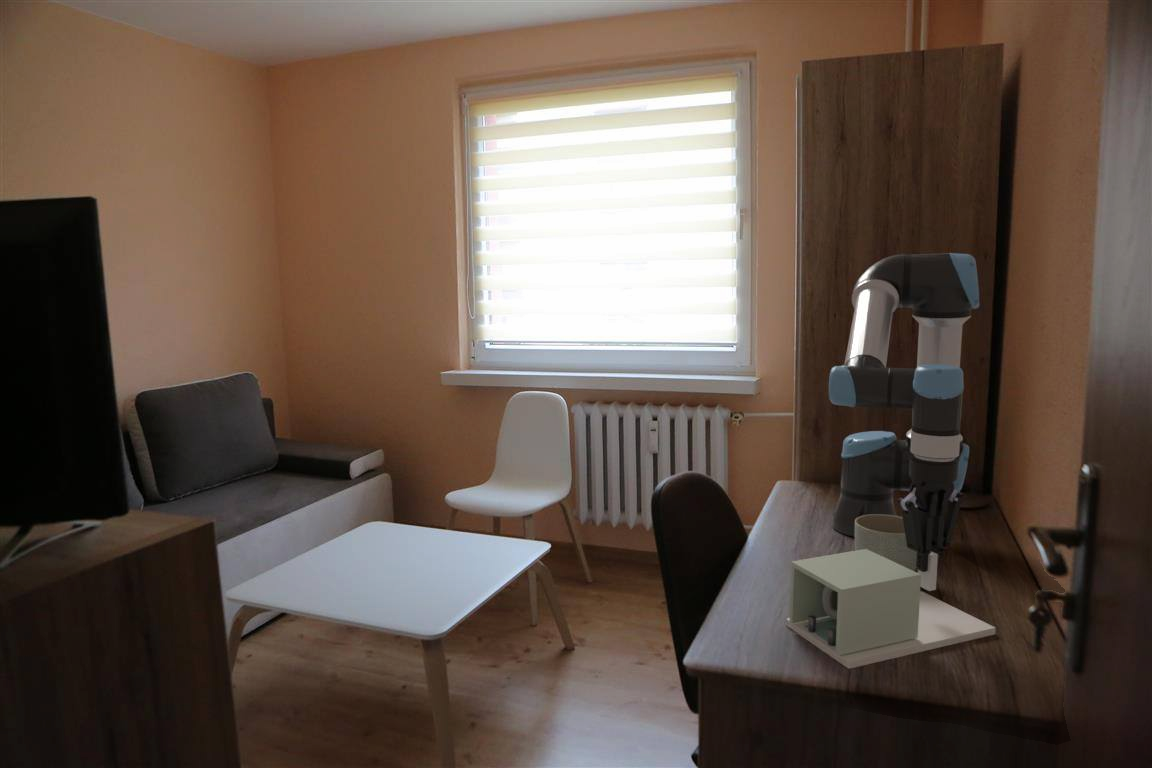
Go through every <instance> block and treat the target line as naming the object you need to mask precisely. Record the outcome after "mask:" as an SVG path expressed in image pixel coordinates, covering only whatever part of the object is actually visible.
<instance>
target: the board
mask: <svg viewBox="0 0 1152 768" xmlns="http://www.w3.org/2000/svg"><path fill="white" fill-rule="evenodd" d="M808 621H809V620H807V621H803V622H798V623H793V624H792V623H791V622H790V617H787V618H785V626H786V627H787V628H789V629H790V630H792V631H793V632H795V633H796V634H797V635H799V636H801V637H802V638H803V639H805V640H806V641H808V642H809V643H811V644H812V645H813V646H816V648H818V649H819V650H821V651H822V652H824V653H825V654H827V656H829V657H831V658H832V659H834V660H835V661H837V662H838V663H840V664H841V665H843V666H844V667H845V668H847V669H854V668H859V667H863V666H866V665H871V664H875V663H876V664H877V663H880V662H883V661H887V660H888V661H889V660H892V659H897V658H900V657H901V658H902V657H905V656H909V655H913V654H918V653H922V652H925V651H931V650H934V649H939V648H942V647H947V646H951V645H955V644H960V643H964V642H968V641H972V640H977V639H981V638H986V637H989V636H994V635H996V626H994V625H993V626H992V624H990V623H987V622H985V621H983V620H981V619H979V618H977V617H974V616H972V615H970V614H969V613H966V612H965V611H962V610H960V609H959V608H956V607H955V606H952V605H950V604H948V603H947V602H944V601H942V600H940V599H938V598H936V597H934V596H933V595H930V594H929V593H926V592H924V591H921V590H920V604H919V622H918V638H913V639H909V640H904V641H900V642H896V643H891V644H887V645H882V646H878V647H874V648H869V649H865V650H860V651H856V652H852V653H847V654H843V655H838V654H836V645H834V646H830V645H828V629H829V628H834V629H837V619H833V618H832V617H830V616H827V617H822V618H817V619H816V631H815V632H813V633H811V632H809V631H808Z"/></svg>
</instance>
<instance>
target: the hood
mask: <svg viewBox="0 0 1152 768" xmlns="http://www.w3.org/2000/svg"><path fill="white" fill-rule="evenodd" d="M790 565H791V566H790V591H789V592H790V593H789V594H790V596H789V618H790V622H791V623H792V624H793V623H798V622H803V621H807V620H809V616H810V615H813V616H816V619H817V618H822V617H827V616H828V614H827V613H826V612H825V610H824V608H823V605H822V591H823V588H824V587H825V586H827V587H829V588H831V589H833V590H834V591H833V593H832V596H831V603H832V607H833V608H834V609H836V610H837V629H836V654H838V655H843V654H847V653H852V652H856V651H860V650H865V649H869V648H874V647H878V646H882V645H887V644H891V643H896V642H900V641H904V640H909V639H913V638H918V622H919V604H920V592H921V587H920V586H921V574H919V573H918V571H917V572H916V570H915V571H912V570H910V569H908V568H906V567H904V566H902V565H900V564H897V563H895V562H893V561H891V560H889V559H887V558H885V557H882V556H880V555H878V554H876V553H874V552H872V551H870V550H867V549H862V550H856V551H855V550H851V551H845V552H839V553H833V554H828V555H822V556H816V557H810V558H803V559H798V560H792V561H791V563H790Z"/></svg>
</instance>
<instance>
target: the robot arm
mask: <svg viewBox="0 0 1152 768" xmlns="http://www.w3.org/2000/svg"><path fill="white" fill-rule="evenodd" d="M977 267H978V266H977V262H976V258H975V257H974V256H973V255H971V254H969V253H955V252H945V253H919V254H905V253H903V254H902V253H901V254H895V255H889V256H888V257H885V258H882V259H881V260H879V261H877V262H875V263H874V264H873V265H871V266H870V267H868V269H866V270H865V271H864V272H863V273H862V275H860V277H859V278H858V279H857V281H856V283H855V285H854V287H853V290H852V295H851V304H852V306H853V309H854V312H853V316H852V322H851V325H850V326H851V327H850V332H849V338H848V344H847V349H846V354H845V358H844V359H845V360H844V364H842V365H835V366H833V367H831V369H830V373H829V378H828V398H829V401H830V403H831V404H833V405H835V406H836V405H837V406H845V407H850V408H872V409H873V408H874V409H892V410H905V411H906V410H907V411H912V412H911V413H912V416H911V419H912V420H911V428H910V429H909V430H908V431H907V432H906V434H905V439H897V438H898V437H897V436H896V434H895V433H894V432H892V431H884V430H871V431H862V432H857V433H856V432H855V433H852V434H849V435H848V436H847V437H845V438H844V440H843V442H842V451H841V456H840V457H841V476H840V478H841V479H840V494H839V499H838V501H837V504H836V507H835V510H834V512H833V514H832V517H831V528H832V529H833V530H835V531H836V532H838V533H840V534H842V535H846V536H848V537H849V536H850V537H854V538H855V519H856V518H858V517H860V516H863V515H871V514H884V515H893V516H898V515H897V510H896V508H895V503H894V490H895V491H907V492H909V493H908V495H906V496H905V497H904V498H903V497H899V498H897V504H898V506H899V508H900V510H901V514H902V515H901V517H903V523H904V529H905V536H906V543H907V547H908V548H909V549H911V550H914V551H916V552H917V560H916V563H917V564H916V570H917V573H919V574H921V586H920V588H923V589H924V590H926V591H928V592H931V591H936V590H937V576H938V575H937V574H938V569H939V567H940V560H941V559H940V558H941V555H945V554H946V552H947V550H946V549H944V548H947V549H948V548H950V546H951V545H952V540H953V537H954V532H955V529H956V524H957V520H958V516H959V512H960V508H961V506H962V504H963V502H964V500H965V498H966V494H965V493H964V492H961V490H962V488H963V485H964V483H965V482H964V481H965V478H966V473H967V469H968V463H969V456H970V446H969V445H968V444H966V443H963V442H964V441H963V440H964V439H963V438H964V437H963V435H962V434H961V423H962V422H961V421H962V420H961V419H962V412H963V411H962V410H963V409H962V407H963V395H964V393H963V392H964V389H965V384H964V383H965V382H964V371H963V369H962V368H961V355H962V353H961V351H962V339H963V338H962V337H963V325H964V324H965V322H966V321H968V320H969V319H970V318H971V317H972V309H973V310H975V309H978V308H979V307H980V289H979V288H980V287H979V280H978V279H979V278H978V269H977ZM897 308H908V309H909V308H910V309H911V310H912V312H911V313H912V314H911V317H912V318H914V320H915V321H916V322H918V324H919V325H918V337H917V339H918V341H917V359H916V368H905V367H904V368H902V367H901V368H900V367H899V368H898V367H887V362H888V353H889V345H890V337H891V328H892V321H893V313H894V312H895V311H896V309H897Z"/></svg>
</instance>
